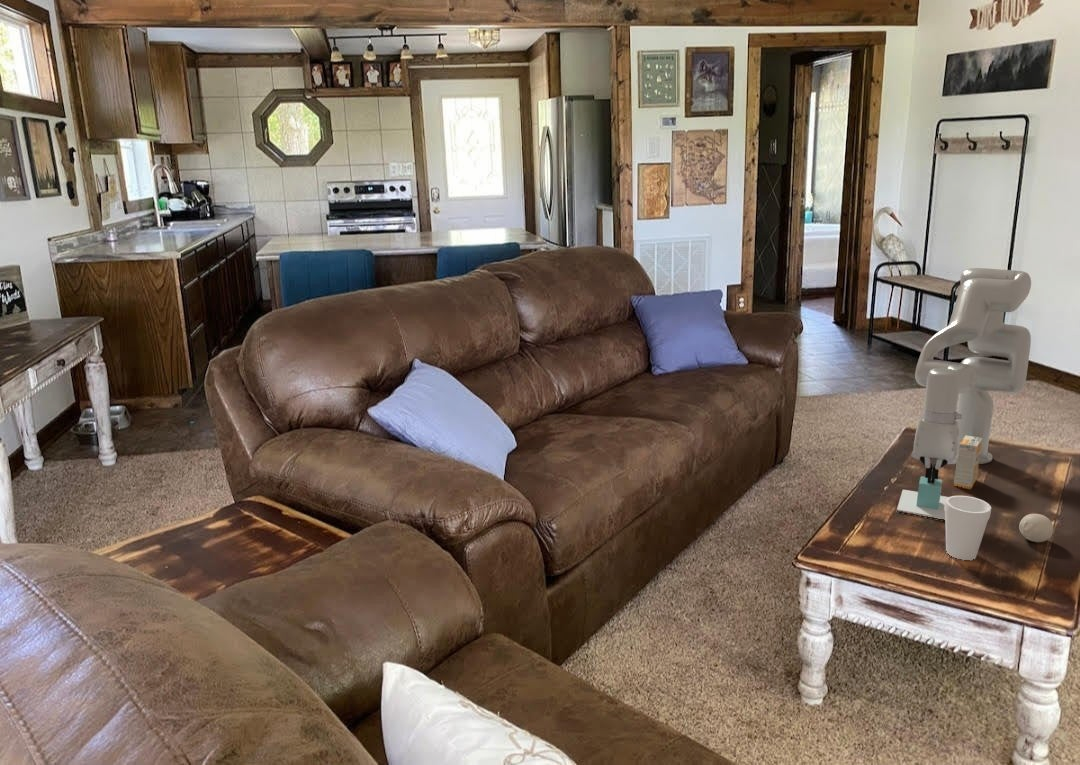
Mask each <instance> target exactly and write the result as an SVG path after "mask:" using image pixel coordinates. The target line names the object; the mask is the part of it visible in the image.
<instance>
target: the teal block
mask: <svg viewBox="0 0 1080 765" xmlns="http://www.w3.org/2000/svg"><path fill="white" fill-rule="evenodd" d="M931 479H932V477H931ZM927 481H928V478H925V476H924V475H923V476H922V475H921V476H920V478H919V482H918V489H917V492H918V496H917V505H916V506H919V507H925V508H931V509H936V510H938V507H939V503H940V496H942V495H941V493H942V488H943V487H942V486H943V479H940V478H938V480H936V479H935V481H934V483H932V482H930V483H929V482H927Z"/></svg>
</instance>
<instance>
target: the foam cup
mask: <svg viewBox="0 0 1080 765" xmlns="http://www.w3.org/2000/svg"><path fill="white" fill-rule="evenodd" d="M947 497H948V498H947V499H946V501H945V507H944V510H945V521H944V522H945V524H944V525H945V527H944V528H945V552H946V551H947V552H946V554H947V553H948V554H949V555H950V557H951V556H952V557H951V558H953V557H954V558H953V559H955V558H957V559H956V560H958V559H962V560H961V561H964V560H970V561H973V559H974V560H975V559H976V558H977V555H978V553H979V549H980V546H981V543H982V539H983V536H984V534H985V531H986V527H987V524H988V521H989V519H990V518H991V514H992V513H991V512H992V506H991V505H990V504H989V502H986V501H985V500H983V499H980V498H977V497H974V496H967V495H952V496H951V495H950V496H947ZM948 554H947V555H948ZM949 555H948V556H949Z"/></svg>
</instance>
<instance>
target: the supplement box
mask: <svg viewBox="0 0 1080 765" xmlns="http://www.w3.org/2000/svg"><path fill="white" fill-rule="evenodd" d="M981 445H982V438H979V437H973V436H966V435H965V436H964V437H963V439H962V440H961V442H960V443H959V449H958V457H957V463H956V467H955V472H954V481H953V487H957V486H958V488H961V487H962V488H961V489H967V490H972V488H973V486H974V484H975V483H976V481H977V478H978V472H979V465H980V464H979V458H980V452H981Z"/></svg>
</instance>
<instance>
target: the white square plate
mask: <svg viewBox="0 0 1080 765" xmlns="http://www.w3.org/2000/svg"><path fill="white" fill-rule="evenodd" d="M917 496H918V491H915V490H910V489H909V490H908V489H902V491H901V494H900V496H899V501H898V505H897V508H896V511H897V510H898V511H903V512H907V513H913V514H918V515H923V516H928V517H934V518H938V519H944V520H945V510H944V507H945V501H946V499H947V498H948V497H949V496H945V495H940V503H939V507H938V510H936V509H931V508H925V507H919V506H916V505H917ZM938 519H937V520H938Z"/></svg>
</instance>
